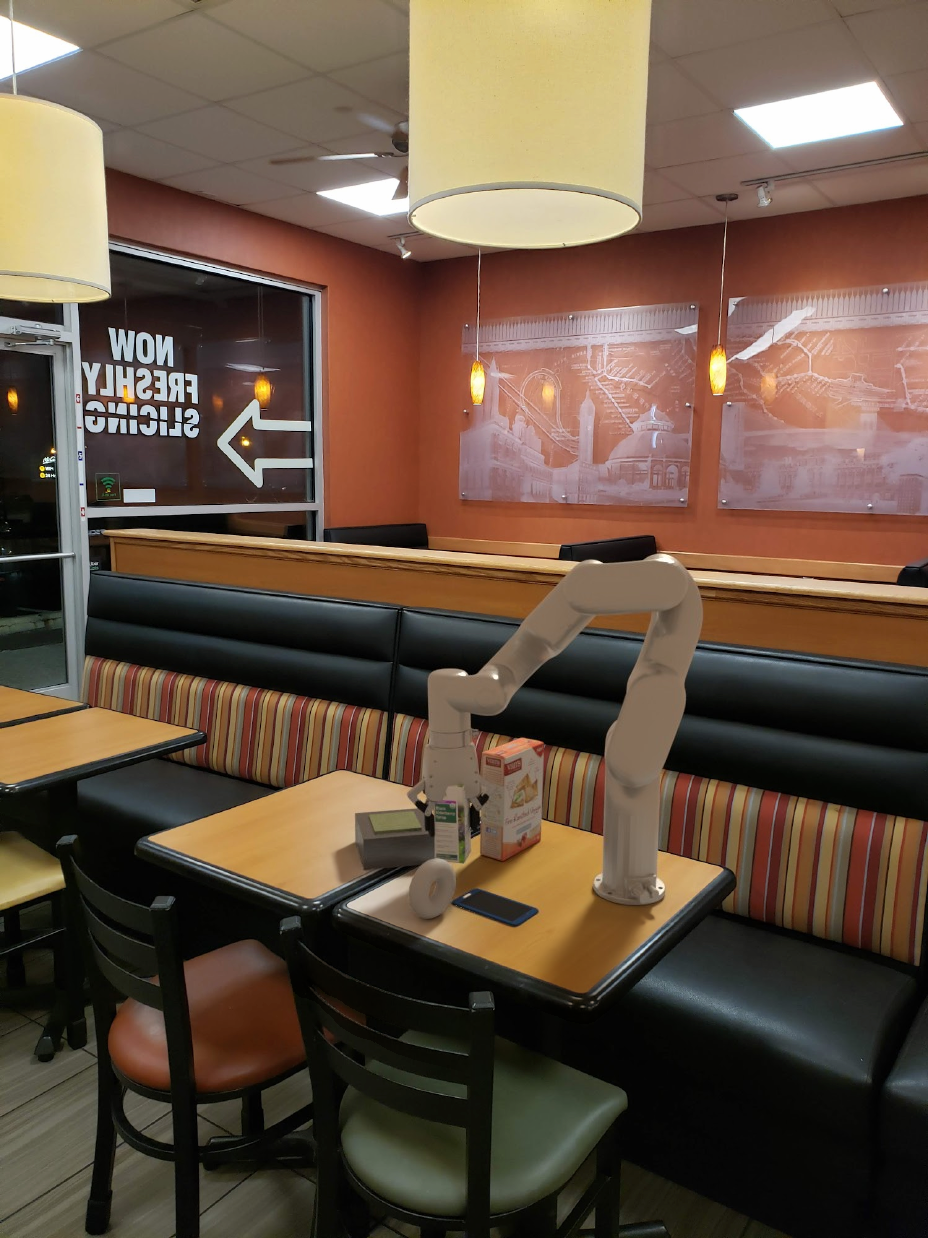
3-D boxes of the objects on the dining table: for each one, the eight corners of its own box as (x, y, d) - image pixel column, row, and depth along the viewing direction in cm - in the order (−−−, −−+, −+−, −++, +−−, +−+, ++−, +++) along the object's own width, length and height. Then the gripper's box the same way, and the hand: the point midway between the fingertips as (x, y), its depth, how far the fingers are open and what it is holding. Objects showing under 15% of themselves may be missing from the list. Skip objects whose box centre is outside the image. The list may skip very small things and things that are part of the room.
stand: (437, 863, 173) (437, 831, 172) (363, 870, 169) (363, 837, 168) (423, 835, 186) (423, 806, 185) (355, 841, 183) (354, 811, 182)
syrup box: (433, 862, 164) (431, 785, 162) (442, 849, 170) (440, 775, 168) (464, 864, 163) (462, 786, 161) (472, 851, 168) (470, 776, 166)
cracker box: (504, 863, 173) (505, 757, 170) (478, 855, 176) (479, 751, 173) (543, 840, 184) (545, 740, 181) (518, 834, 187) (520, 735, 184)
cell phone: (475, 891, 162) (475, 887, 162) (540, 913, 153) (540, 909, 153) (449, 905, 156) (449, 901, 156) (516, 929, 148) (516, 925, 147)
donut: (419, 931, 146) (419, 872, 145) (404, 924, 149) (403, 866, 147) (460, 909, 154) (460, 853, 152) (445, 903, 156) (445, 848, 155)
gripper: (491, 728, 169) (493, 820, 171) (399, 736, 165) (402, 829, 167) (502, 739, 161) (503, 834, 164) (405, 747, 158) (409, 845, 160)
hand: (452, 831), depth 166 cm, fingers closed on syrup box, 7 cm apart
